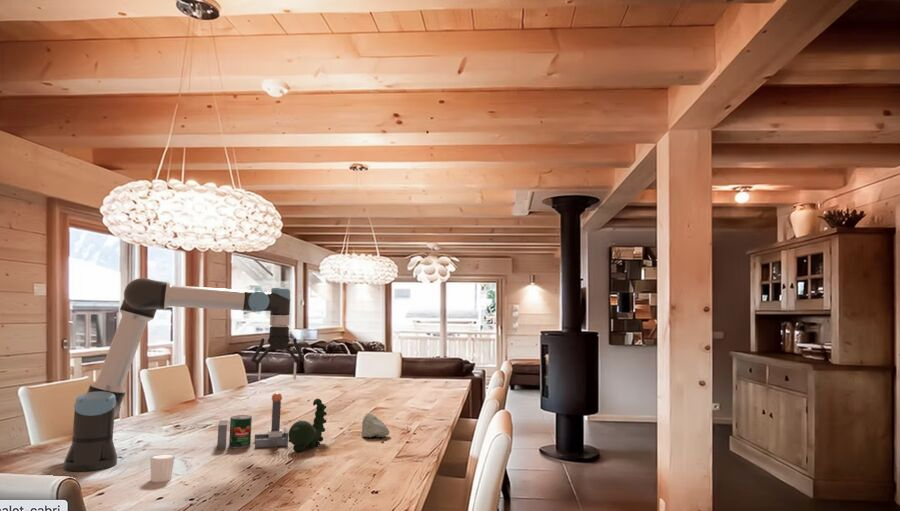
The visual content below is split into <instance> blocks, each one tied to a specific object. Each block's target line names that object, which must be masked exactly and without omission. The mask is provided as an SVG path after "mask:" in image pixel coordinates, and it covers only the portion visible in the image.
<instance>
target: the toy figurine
mask: <svg viewBox="0 0 900 511" xmlns="http://www.w3.org/2000/svg"><path fill="white" fill-rule="evenodd" d="M312 405H313V406H315V408H316V409H315V412H314V413H315V414H314V416H315V417H314V418H313V424H311V423H310V422H308V421H307V420H298V421H296V422H294V423H293V424H292V425H291V426H290V428H289V430H288V443H291V444H292V446H293V447H292V448H293V451H294V452H296V453H303V451H304V450H305V449H306V447H310V448H311V449H313V448H315V447H319V446H320V444H321V442H323V441H324V437H323V436H322V435H323V434H322V433H324V432H326V428H325V426H324V424H327V419H325V416H327V414H328V413H327V412H326V411H325V410H326V409H327V406H326V405H325V404H324V403H323V402H322V400H321V398H315V399H314V400H313V403H312ZM315 445H316V446H315ZM318 445H319V446H318Z"/></svg>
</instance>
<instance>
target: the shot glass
mask: <svg viewBox="0 0 900 511" xmlns="http://www.w3.org/2000/svg"><path fill="white" fill-rule="evenodd" d="M175 456H176V455H175V454H172V453H161V454H155V455H151V456H150V459H149V460H150V462H149V464H150V482H153V483H163V482H168V481H170V480H171V479H172V477H173V476H172V475H173V468H174V463H175Z"/></svg>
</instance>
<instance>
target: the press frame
mask: <svg viewBox="0 0 900 511" xmlns="http://www.w3.org/2000/svg"><path fill="white" fill-rule="evenodd" d="M228 424H229V423H228V420H227V419H224V420H219V422H218V428H217V442H216V445H217V446H216V450H217V451H220V450H221V451H222V449H224V450H227V449H226V448H227V442H228V441H227V439H228V438H227V437H228V436H227V435H228ZM253 443H255V444H254V449H262V448H278V447H277V446H284V447H288V446H289V430H288V429H287V427H283V432H282V438H271V439H268V433H255V434H254V442H253Z"/></svg>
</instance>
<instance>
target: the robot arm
mask: <svg viewBox="0 0 900 511" xmlns="http://www.w3.org/2000/svg"><path fill="white" fill-rule="evenodd" d="M124 288H125V289H124V290H123V291H124V292H123V300H122V303H121V306H120V308H119V312H120V314H121V318H120V319H119V320H120V321H119V323H118V326H117V328H116V330H115V333H114V336H113V339H112V341H111V344H110V347H109V349H108V352H107V354H106V357H105V359H104V361H103V364H102V367H101V369H100V372H99V374H98V377H97V379H96V380H95V381H93V382H91V383H90V385H89V387H88V389H87V392H86V393H82V394H80V395H78V396H77V397H76V398H75V402H74V406H73V408H74V412H73V413H74V415H73V423H72V424H73V425H72V426H73V427H72V437H71V439H72V440H71V445H70V446H69V449H68V452H67V454H66V456H65V458H64V461H63V470H64V471H67V472H68V471H70V472H90V471H98V470H103V469H107V468H111V467H113V466H115V465H116V464H117V463H118V455H117V450H116V448H115V447H116V446H115V444H114V439H113V438H114V426H115V418H116V417H117V416H118V415H119V413H120V411H121V407H122V406H121V405H122V403H123V400H124V397H125V395H126V392H127V390H126V388H124V385H125V382H126V379H127V377H128V374H129V370H130V369H131V366H132V362H133V361H134V359H135V355H136V353H137V351H138V347H139V345H140V342H141V340H142V338H143V335H144V331H145V329H146V326H147V324H148V322H150V321H152V320H154V318H155V315H156V313H157V310H160V309H161V310H166V309H168V307H174V308H175V307H177V308H178V307H179V308H194V309H212V310H213V309H214V310H229V311H231V310H232V311H242V312H270V314H269V325H270V327H269V333H268V334H269V335H268V338H264V337H262V338H261V339H260V344H259V345H258V347H257V349H256V350H255V352H254V354H253V356H252V358H251V359H250V360H251V362H252V363H255V372H257V374H258V375H257V378H258V379H257V381H261V378H262V377H261V376H262V375H261V374H262V372H261V371H262V363H261V361H262V360H264V358H265V357H266V356H267V355H268V353H269V352H271V350H272V349H273V350H275V351H276V350H279V351H280V350H284V349H285V350H286V351H287V352H288V354H289V355H290V356H291V358H293V360H294V361H295V362H293V380H297V372H299V370H300V363H302V362H304V361H305V358H304V356H303V354H302V352H301V350H300V348H299V346H298V343H297V342H298V341H297V338H296V337H293V338H290V337H289V335H290V327H289V325H290V314H291V313H290V311H291V290H290V289H289V288H287V287H273V288H272V287H271V291H270V292H264V291H263V290H244V289H233V288H231V289H230V288H229V289H228V288H217V287H204V286H203V287H200V286H189V285H188V286H186V285H175V284H174V285H172V284H171V283H170V282H169V281H159V280H153V279H150V278H146V277H140V278H136V279H133V280H131V281H129V283H128V284H127V285H126V286H125V287H124ZM266 343H268V344H269V346H268V347H267V348H266V350H265V351H264V352H263V353H262V354H261V355H260V356H259V354H260V351H261V350H262V348H263V347H264V345H266ZM289 343H291V344H293V346H294V349H295V351H296V353H297V355H298V357H299V358H298V357H297V356H296V355H295V353H293V351H292V350H291V349H290V347H289V346H288V345H289ZM258 356H259V357H258ZM117 465H118V464H117Z"/></svg>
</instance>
